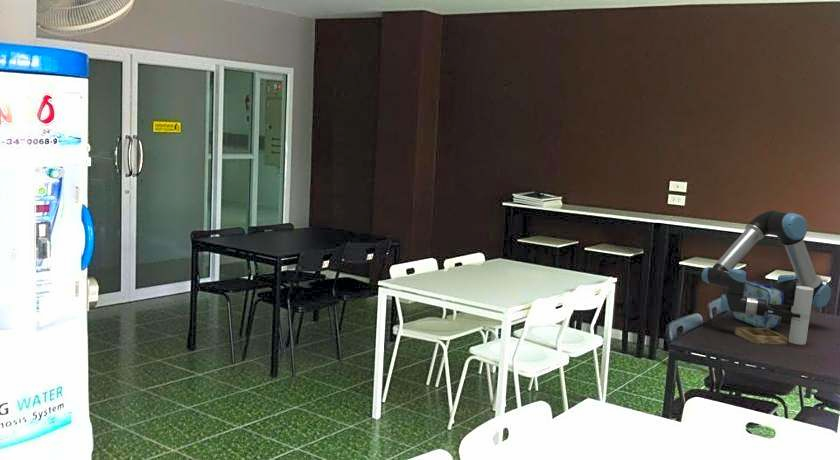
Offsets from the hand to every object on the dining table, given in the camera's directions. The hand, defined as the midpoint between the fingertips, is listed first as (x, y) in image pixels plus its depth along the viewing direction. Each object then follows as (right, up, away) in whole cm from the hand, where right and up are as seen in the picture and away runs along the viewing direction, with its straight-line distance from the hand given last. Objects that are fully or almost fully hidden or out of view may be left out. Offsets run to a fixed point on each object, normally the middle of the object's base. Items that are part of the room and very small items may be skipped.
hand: (807, 314), depth 364 cm
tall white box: (-4, -13, +3) cm, 14 cm away
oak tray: (-20, -12, +4) cm, 23 cm away
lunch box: (-9, -9, +34) cm, 36 cm away
